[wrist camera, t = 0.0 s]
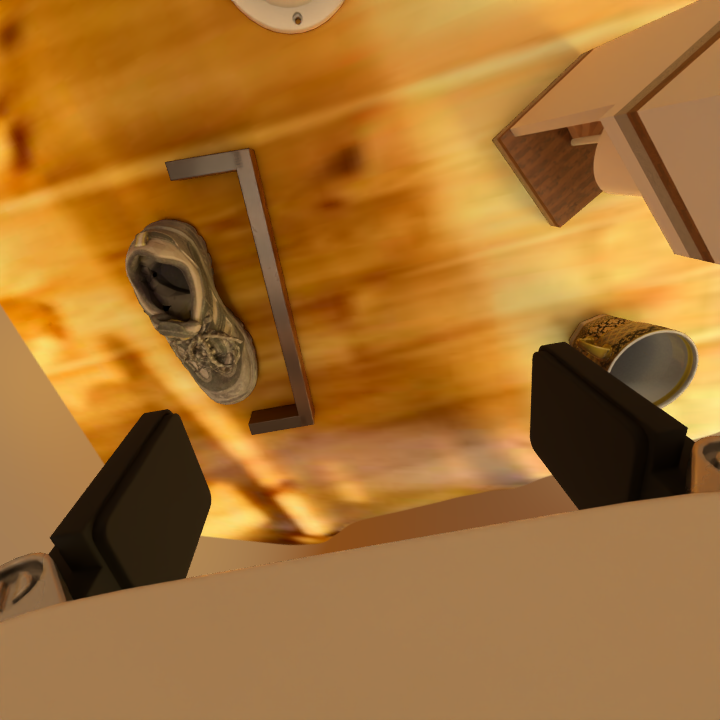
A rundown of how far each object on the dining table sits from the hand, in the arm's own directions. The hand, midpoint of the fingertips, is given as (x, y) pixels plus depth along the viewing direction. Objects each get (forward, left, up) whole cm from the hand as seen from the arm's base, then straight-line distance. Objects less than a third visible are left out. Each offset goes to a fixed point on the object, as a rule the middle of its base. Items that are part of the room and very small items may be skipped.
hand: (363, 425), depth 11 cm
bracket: (+6, -10, -37) cm, 39 cm away
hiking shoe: (+6, -16, -37) cm, 41 cm away
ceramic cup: (+17, +29, -37) cm, 50 cm away
